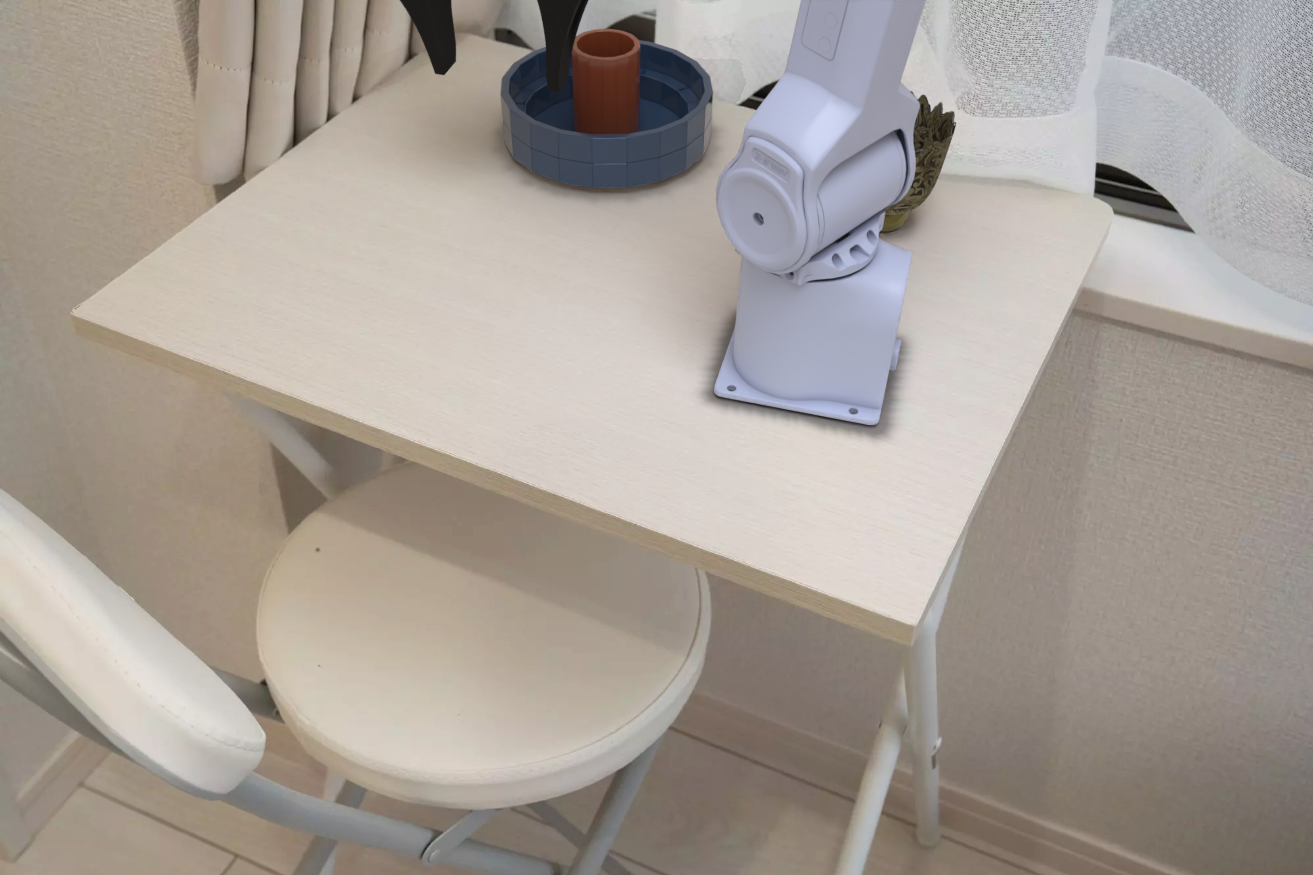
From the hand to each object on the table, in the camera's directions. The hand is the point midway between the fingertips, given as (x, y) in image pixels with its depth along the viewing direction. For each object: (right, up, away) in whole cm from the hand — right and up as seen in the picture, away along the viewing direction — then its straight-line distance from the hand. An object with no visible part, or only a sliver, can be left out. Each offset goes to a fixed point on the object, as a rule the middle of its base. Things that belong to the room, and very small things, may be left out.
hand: (501, 76), depth 75 cm
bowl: (+6, -1, +13) cm, 14 cm away
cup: (+6, 0, +12) cm, 14 cm away
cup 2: (+25, -8, +6) cm, 27 cm away
